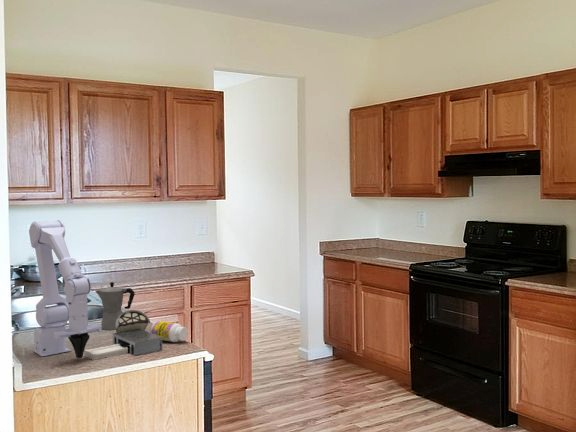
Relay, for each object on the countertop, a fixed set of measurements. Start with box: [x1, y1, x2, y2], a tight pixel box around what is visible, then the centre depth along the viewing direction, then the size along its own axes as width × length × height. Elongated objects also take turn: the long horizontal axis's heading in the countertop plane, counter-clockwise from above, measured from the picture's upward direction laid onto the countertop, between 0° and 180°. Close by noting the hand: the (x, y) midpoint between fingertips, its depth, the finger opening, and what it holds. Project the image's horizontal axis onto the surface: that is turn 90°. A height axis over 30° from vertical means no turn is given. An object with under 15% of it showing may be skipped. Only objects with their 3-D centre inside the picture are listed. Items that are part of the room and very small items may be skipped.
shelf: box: [112, 329, 163, 357], centre depth 197 cm, size 10×16×4 cm, turn 42°
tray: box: [84, 344, 129, 361], centre depth 189 cm, size 12×6×2 cm, turn 132°
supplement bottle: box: [150, 320, 189, 343], centre depth 205 cm, size 7×7×13 cm
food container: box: [115, 309, 151, 333], centre depth 207 cm, size 12×6×10 cm
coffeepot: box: [94, 281, 135, 331], centre depth 226 cm, size 15×9×18 cm, turn 90°
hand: (79, 357), depth 183 cm, fingers closed
